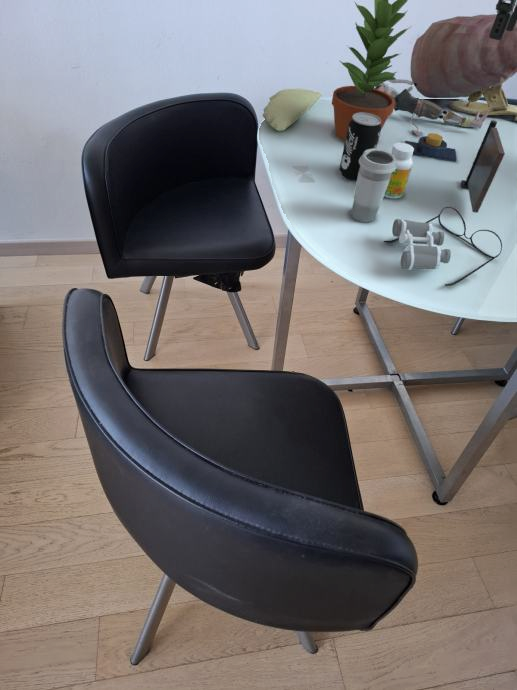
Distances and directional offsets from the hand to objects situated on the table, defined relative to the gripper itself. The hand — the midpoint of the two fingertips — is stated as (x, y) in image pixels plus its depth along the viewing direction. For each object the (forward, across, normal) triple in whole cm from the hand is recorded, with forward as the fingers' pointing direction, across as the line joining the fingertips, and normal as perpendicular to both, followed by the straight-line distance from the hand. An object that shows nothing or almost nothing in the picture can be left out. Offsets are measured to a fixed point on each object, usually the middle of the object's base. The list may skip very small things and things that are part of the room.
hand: (501, 34), depth 89 cm
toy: (+25, +30, +1) cm, 39 cm away
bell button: (+26, +9, +7) cm, 28 cm away
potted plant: (+28, +4, +24) cm, 37 cm away
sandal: (+28, +46, +2) cm, 54 cm away
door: (+26, -9, -8) cm, 29 cm away
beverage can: (+28, -14, +16) cm, 35 cm away
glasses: (+24, -31, -8) cm, 40 cm away
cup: (+28, -28, +8) cm, 40 cm away
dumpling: (+26, +3, +39) cm, 47 cm away
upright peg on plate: (+28, -2, -5) cm, 28 cm away
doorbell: (+28, +9, +7) cm, 30 cm away
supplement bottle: (+28, -16, +7) cm, 33 cm away
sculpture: (+10, +33, +9) cm, 35 cm away
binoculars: (+26, -35, -6) cm, 44 cm away
